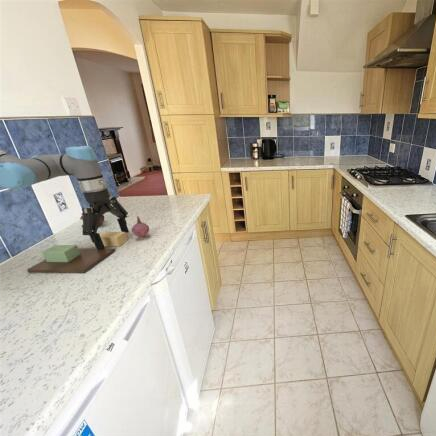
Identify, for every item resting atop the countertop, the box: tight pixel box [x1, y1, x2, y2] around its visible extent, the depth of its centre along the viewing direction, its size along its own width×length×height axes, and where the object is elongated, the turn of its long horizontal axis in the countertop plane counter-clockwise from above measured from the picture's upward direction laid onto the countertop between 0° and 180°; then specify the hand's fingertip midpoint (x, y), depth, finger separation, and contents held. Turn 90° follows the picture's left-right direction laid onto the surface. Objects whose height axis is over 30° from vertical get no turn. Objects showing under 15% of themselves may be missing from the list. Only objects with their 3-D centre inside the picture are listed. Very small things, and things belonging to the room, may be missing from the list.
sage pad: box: [41, 244, 80, 262], centre depth 86 cm, size 8×5×4 cm, turn 87°
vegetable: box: [131, 215, 150, 238], centre depth 100 cm, size 6×6×10 cm
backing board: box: [26, 247, 116, 274], centre depth 87 cm, size 20×14×1 cm
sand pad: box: [100, 231, 129, 247], centre depth 98 cm, size 8×5×4 cm, turn 87°
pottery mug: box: [79, 212, 105, 229], centre depth 115 cm, size 12×10×8 cm
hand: (114, 240), depth 98 cm, fingers open, 13 cm apart
